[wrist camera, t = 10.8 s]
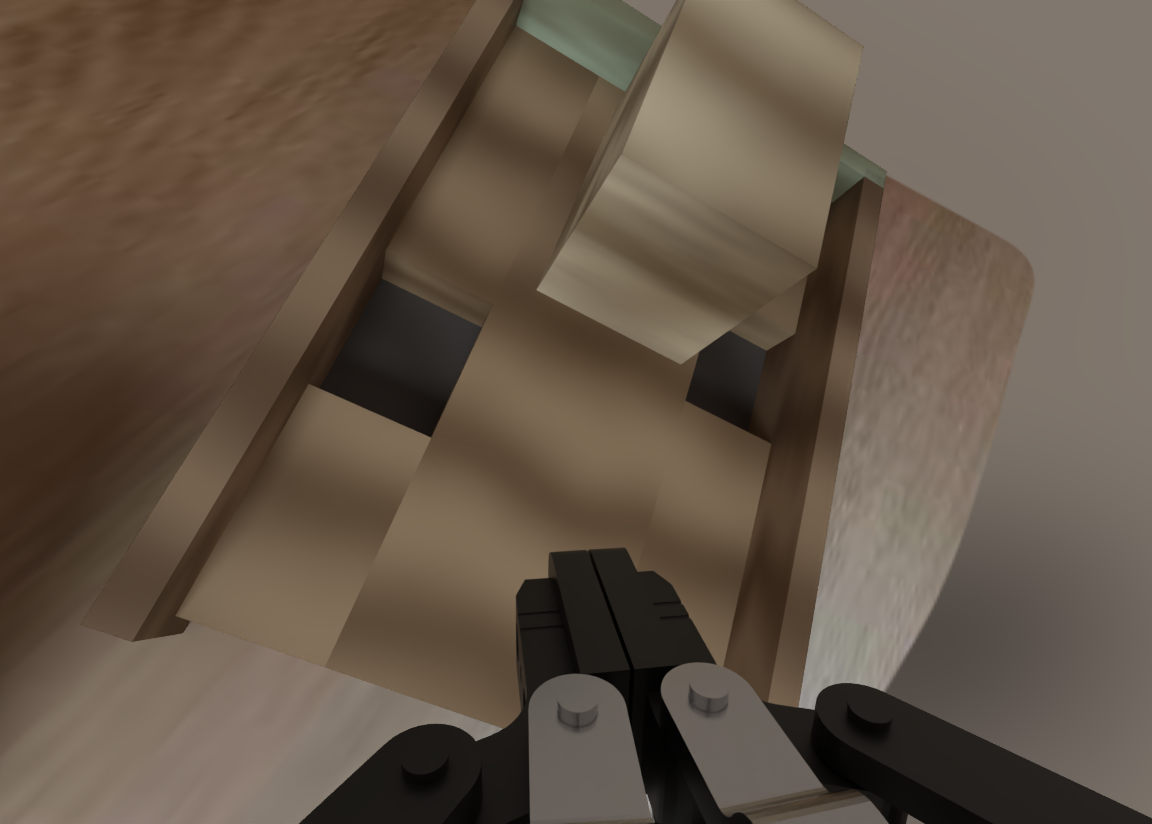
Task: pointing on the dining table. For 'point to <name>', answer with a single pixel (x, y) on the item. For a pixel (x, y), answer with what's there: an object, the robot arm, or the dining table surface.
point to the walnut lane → (504, 408)
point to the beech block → (710, 175)
